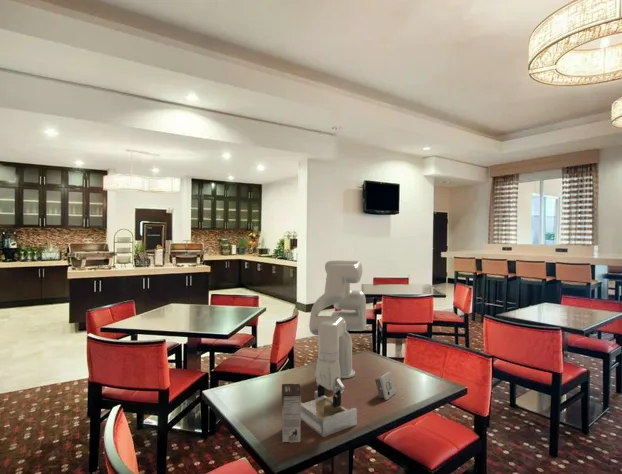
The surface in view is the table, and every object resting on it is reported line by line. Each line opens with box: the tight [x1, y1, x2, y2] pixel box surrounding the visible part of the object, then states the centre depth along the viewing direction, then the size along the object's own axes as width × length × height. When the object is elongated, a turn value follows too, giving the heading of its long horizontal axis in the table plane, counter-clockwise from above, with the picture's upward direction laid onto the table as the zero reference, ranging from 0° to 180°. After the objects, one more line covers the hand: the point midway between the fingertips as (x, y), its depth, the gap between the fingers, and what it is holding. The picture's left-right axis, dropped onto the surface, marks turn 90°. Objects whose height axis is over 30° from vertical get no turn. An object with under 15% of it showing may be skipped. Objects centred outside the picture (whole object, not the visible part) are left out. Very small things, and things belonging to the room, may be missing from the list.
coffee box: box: [281, 383, 302, 443], centre depth 125 cm, size 9×6×16 cm
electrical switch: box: [374, 371, 397, 401], centre depth 157 cm, size 9×5×9 cm, turn 141°
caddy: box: [301, 390, 358, 438], centre depth 138 cm, size 24×15×6 cm, turn 33°
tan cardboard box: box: [316, 395, 343, 418], centre depth 134 cm, size 5×8×7 cm, turn 123°
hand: (329, 401), depth 134 cm, fingers open, 9 cm apart
